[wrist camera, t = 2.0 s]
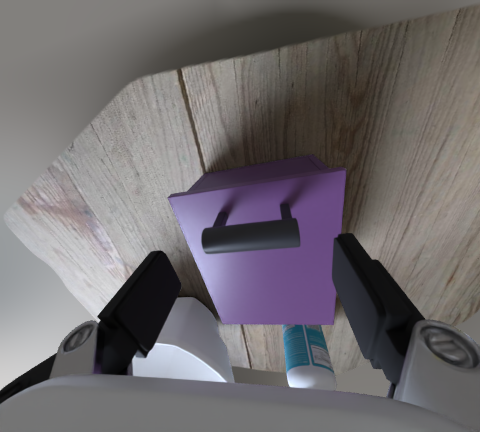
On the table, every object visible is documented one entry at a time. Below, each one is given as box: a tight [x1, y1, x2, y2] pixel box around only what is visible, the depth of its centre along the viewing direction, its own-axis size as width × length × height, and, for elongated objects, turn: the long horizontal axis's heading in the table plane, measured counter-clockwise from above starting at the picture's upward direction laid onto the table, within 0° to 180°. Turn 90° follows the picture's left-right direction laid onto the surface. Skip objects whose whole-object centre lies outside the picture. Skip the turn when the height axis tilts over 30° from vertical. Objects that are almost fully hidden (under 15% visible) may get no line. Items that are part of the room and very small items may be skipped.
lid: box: [168, 167, 346, 325], centre depth 16 cm, size 18×14×5 cm
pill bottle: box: [282, 325, 337, 391], centre depth 31 cm, size 8×7×14 cm
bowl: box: [132, 297, 235, 383], centre depth 35 cm, size 22×22×12 cm
